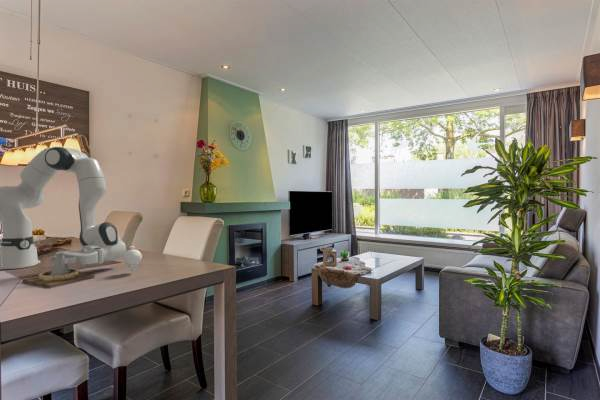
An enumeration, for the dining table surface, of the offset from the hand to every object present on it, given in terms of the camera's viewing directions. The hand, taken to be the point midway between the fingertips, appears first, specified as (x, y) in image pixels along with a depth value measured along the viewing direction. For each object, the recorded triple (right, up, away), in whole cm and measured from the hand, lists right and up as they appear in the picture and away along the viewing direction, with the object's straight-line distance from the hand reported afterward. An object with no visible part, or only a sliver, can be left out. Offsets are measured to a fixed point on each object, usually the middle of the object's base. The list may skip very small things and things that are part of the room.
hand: (56, 260), depth 139 cm
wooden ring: (0, -7, +1) cm, 7 cm away
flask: (+1, -7, +1) cm, 7 cm away
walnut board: (0, -8, +1) cm, 8 cm away
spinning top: (+25, -8, +13) cm, 29 cm away
